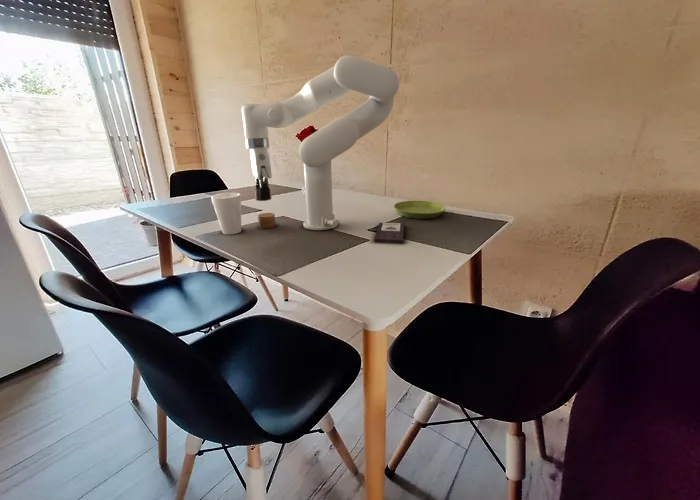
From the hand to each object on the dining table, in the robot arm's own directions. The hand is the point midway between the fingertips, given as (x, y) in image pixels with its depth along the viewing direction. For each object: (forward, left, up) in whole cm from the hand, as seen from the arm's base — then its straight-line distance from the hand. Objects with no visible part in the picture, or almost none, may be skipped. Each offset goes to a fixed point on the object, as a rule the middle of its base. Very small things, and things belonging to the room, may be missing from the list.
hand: (263, 196), depth 112 cm
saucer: (-32, -52, -11) cm, 62 cm away
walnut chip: (0, 0, -1) cm, 1 cm away
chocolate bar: (-39, -24, -11) cm, 47 cm away
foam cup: (+4, +12, -11) cm, 17 cm away
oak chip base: (0, 0, -11) cm, 11 cm away
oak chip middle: (0, 0, -9) cm, 9 cm away
